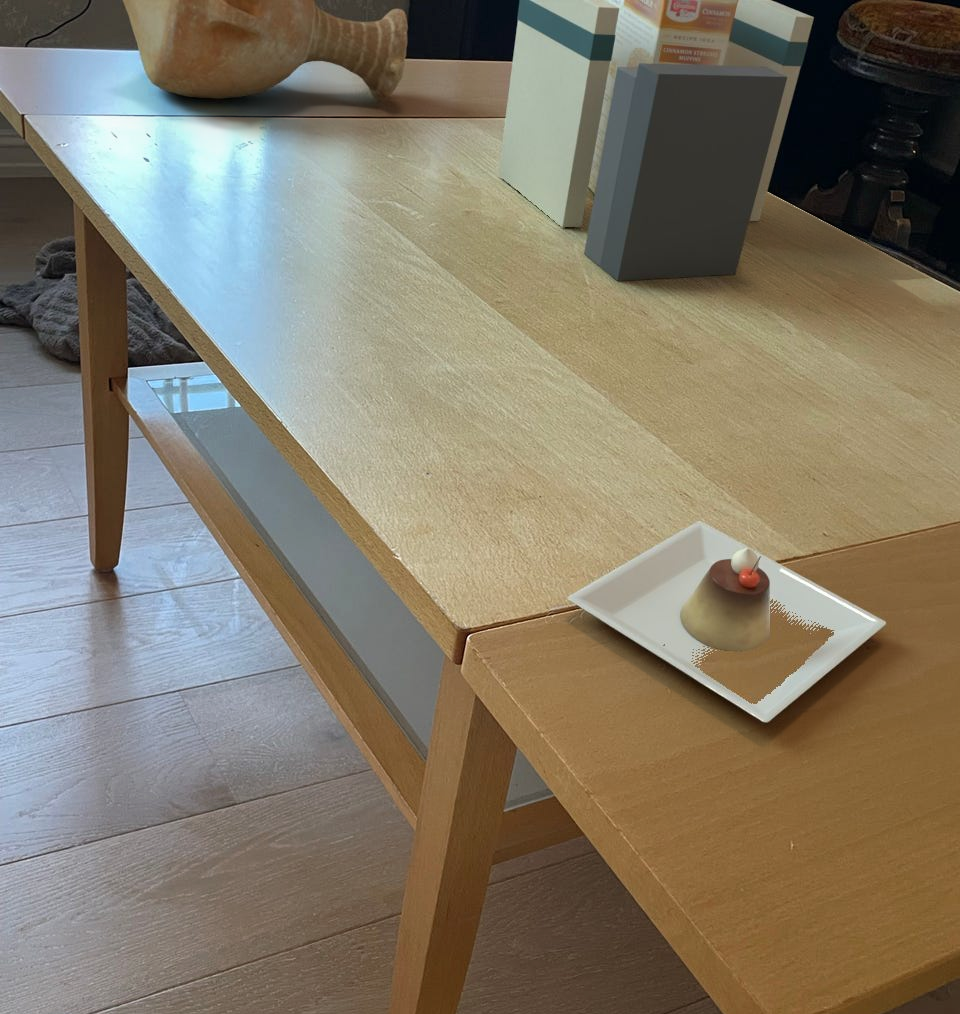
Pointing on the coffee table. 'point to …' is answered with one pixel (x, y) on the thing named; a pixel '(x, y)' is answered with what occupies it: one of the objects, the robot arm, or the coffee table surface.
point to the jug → (260, 45)
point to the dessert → (722, 609)
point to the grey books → (681, 168)
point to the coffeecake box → (664, 43)
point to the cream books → (581, 87)
